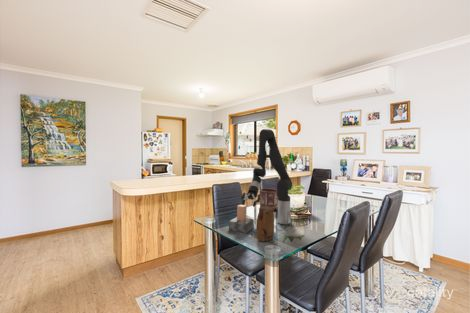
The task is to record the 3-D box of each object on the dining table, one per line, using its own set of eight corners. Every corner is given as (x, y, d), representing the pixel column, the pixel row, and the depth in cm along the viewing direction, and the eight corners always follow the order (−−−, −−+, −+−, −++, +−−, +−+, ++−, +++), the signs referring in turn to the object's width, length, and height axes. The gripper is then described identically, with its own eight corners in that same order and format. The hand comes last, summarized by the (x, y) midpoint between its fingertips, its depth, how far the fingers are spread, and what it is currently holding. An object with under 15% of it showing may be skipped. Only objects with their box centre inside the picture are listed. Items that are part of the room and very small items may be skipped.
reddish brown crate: (266, 212, 199) (266, 192, 199) (255, 207, 215) (256, 189, 215) (282, 211, 207) (283, 191, 206) (271, 206, 223) (272, 188, 222)
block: (265, 235, 148) (266, 204, 147) (275, 239, 142) (275, 207, 141) (254, 239, 140) (255, 207, 140) (263, 243, 135) (264, 210, 134)
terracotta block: (246, 219, 160) (246, 205, 160) (243, 221, 156) (243, 206, 156) (239, 218, 163) (240, 204, 162) (237, 220, 159) (237, 205, 158)
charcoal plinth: (253, 227, 162) (253, 218, 162) (246, 233, 151) (246, 224, 151) (237, 224, 169) (237, 216, 168) (228, 229, 157) (229, 220, 157)
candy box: (310, 213, 201) (310, 194, 201) (311, 215, 195) (312, 196, 195) (294, 212, 202) (294, 194, 202) (295, 214, 197) (295, 195, 196)
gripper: (244, 184, 180) (238, 201, 170) (261, 185, 174) (256, 204, 164) (247, 190, 185) (241, 207, 175) (263, 191, 179) (258, 209, 169)
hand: (248, 205), depth 170 cm, fingers open, 8 cm apart
